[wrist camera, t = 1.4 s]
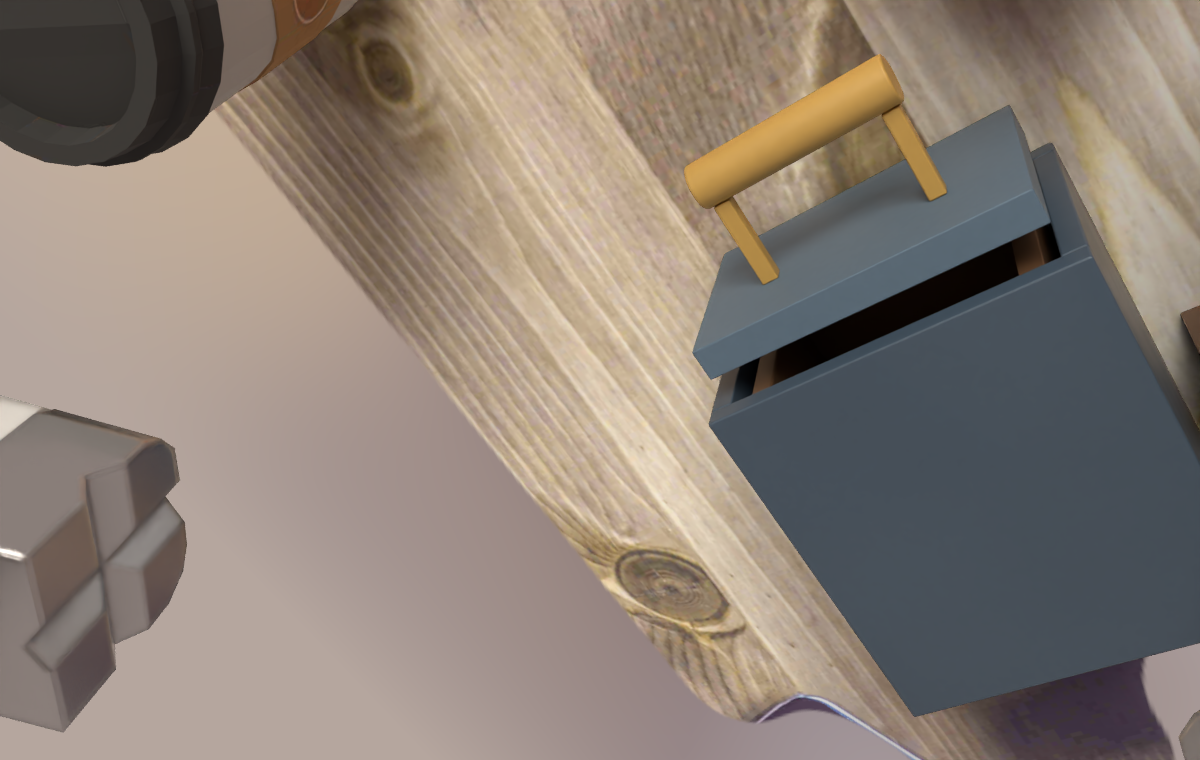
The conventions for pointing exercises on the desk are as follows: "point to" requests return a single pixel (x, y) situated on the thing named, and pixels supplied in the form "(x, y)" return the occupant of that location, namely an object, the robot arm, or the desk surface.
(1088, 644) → the cabinet
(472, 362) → the desk surface
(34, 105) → the coffee cup
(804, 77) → the desk surface
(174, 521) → the robot arm
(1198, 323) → the stand
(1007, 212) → the drawer
